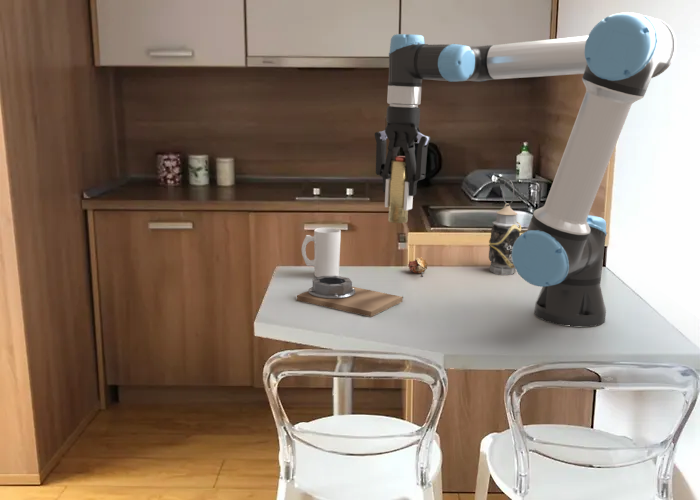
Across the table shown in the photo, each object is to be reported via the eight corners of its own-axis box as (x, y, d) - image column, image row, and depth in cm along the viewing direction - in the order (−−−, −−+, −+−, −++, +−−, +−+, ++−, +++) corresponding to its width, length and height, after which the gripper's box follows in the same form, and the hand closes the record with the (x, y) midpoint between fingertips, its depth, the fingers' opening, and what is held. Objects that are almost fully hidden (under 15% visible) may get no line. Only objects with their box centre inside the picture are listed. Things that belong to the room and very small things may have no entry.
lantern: (522, 275, 204) (530, 181, 199) (494, 276, 203) (501, 182, 197) (509, 267, 213) (516, 177, 207) (481, 268, 211) (488, 177, 205)
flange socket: (364, 291, 182) (364, 279, 181) (338, 302, 173) (338, 289, 172) (325, 283, 187) (326, 272, 187) (298, 293, 178) (299, 281, 178)
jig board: (402, 301, 178) (402, 296, 178) (371, 316, 167) (371, 311, 166) (330, 287, 189) (331, 282, 188) (296, 300, 177) (296, 295, 177)
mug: (336, 271, 203) (337, 227, 200) (342, 278, 197) (343, 232, 194) (298, 273, 200) (299, 228, 198) (303, 280, 194) (304, 233, 191)
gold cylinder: (410, 221, 180) (414, 156, 176) (401, 223, 176) (404, 158, 173) (394, 218, 182) (397, 155, 179) (384, 221, 179) (387, 156, 175)
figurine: (399, 269, 208) (399, 253, 207) (416, 267, 210) (416, 251, 209) (421, 282, 196) (422, 265, 195) (439, 280, 198) (440, 263, 197)
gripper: (446, 107, 171) (439, 210, 177) (379, 103, 181) (375, 201, 186) (430, 108, 165) (423, 215, 171) (362, 103, 175) (358, 205, 180)
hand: (398, 207), depth 178 cm, fingers closed on gold cylinder, 4 cm apart
